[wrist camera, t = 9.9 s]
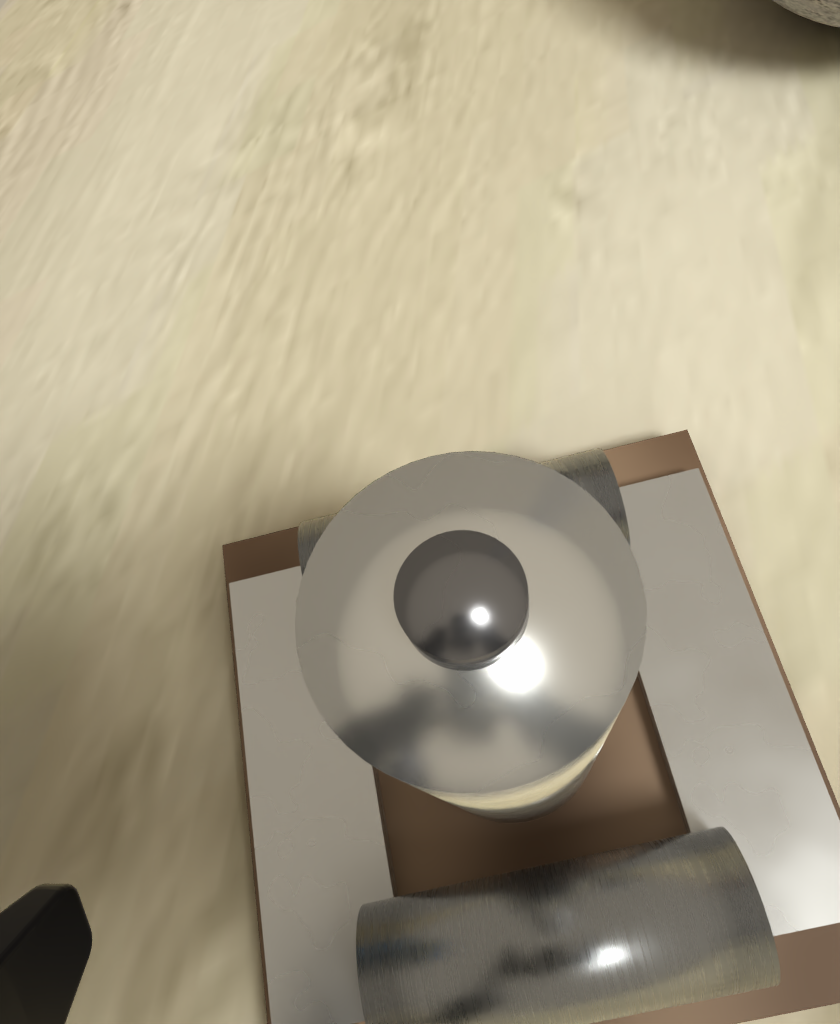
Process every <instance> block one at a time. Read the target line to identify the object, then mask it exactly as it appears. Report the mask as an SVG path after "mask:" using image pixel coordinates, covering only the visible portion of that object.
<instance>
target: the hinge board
mask: <svg viewBox="0 0 840 1024" xmlns="http://www.w3.org/2000/svg"><path fill="white" fill-rule="evenodd" d="M603 452H604V453H605V455H606V456H607V458H608V460H609V462H610V464H611V467H612V469H613V472H614V474H615V477H616V480H617V483H618V486H619V487H623V486H627V485H631V484H635V483H639V482H643V481H647V480H651V479H655V478H659V477H663V476H667V475H671V474H676V473H680V472H684V471H688V470H692V469H696V468H699V471H700V473H701V476H702V478H703V481H704V483H705V486H706V488H707V491H708V493H709V496H710V498H711V501H712V503H713V506H714V508H715V511H716V513H717V516H718V518H719V521H720V523H721V526H722V528H723V531H724V533H725V536H726V538H727V541H728V543H729V546H730V548H731V551H732V553H733V556H734V558H735V561H736V563H737V566H738V568H739V571H740V573H741V576H742V578H743V581H744V583H745V586H746V588H747V591H748V593H749V596H750V598H751V601H752V603H753V606H754V608H755V611H756V613H757V616H758V618H759V621H760V623H761V626H762V628H763V631H764V633H765V636H766V638H767V641H768V643H769V646H770V648H771V651H772V653H773V656H774V658H775V661H776V663H777V666H778V668H779V671H780V673H781V675H782V678H783V680H784V683H785V685H786V688H787V690H788V693H789V695H790V698H791V700H792V703H793V705H794V708H795V710H796V713H797V715H798V718H799V720H800V723H801V725H802V728H803V730H804V733H805V735H806V738H807V740H808V743H809V745H810V748H811V750H812V753H813V755H814V758H815V760H816V763H817V765H818V768H819V770H820V773H821V775H822V778H823V780H824V783H825V785H826V788H827V790H828V793H829V795H830V798H831V800H832V803H833V805H834V808H835V810H836V813H837V815H838V818H839V820H840V808H839V805H838V803H837V800H836V798H835V795H834V793H833V790H832V788H831V786H830V783H829V781H828V778H827V776H826V773H825V771H824V768H823V766H822V763H821V761H820V758H819V756H818V753H817V751H816V748H815V746H814V743H813V741H812V738H811V736H810V733H809V731H808V728H807V726H806V723H805V721H804V719H803V716H802V714H801V711H800V709H799V706H798V704H797V701H796V699H795V696H794V694H793V691H792V689H791V686H790V684H789V681H788V679H787V676H786V674H785V671H784V669H783V666H782V664H781V661H780V659H779V656H778V654H777V651H776V649H775V647H774V644H773V642H772V639H771V637H770V634H769V632H768V629H767V627H766V624H765V622H764V619H763V617H762V614H761V612H760V609H759V607H758V604H757V602H756V599H755V597H754V594H753V592H752V589H751V587H750V584H749V582H748V580H747V577H746V575H745V572H744V570H743V567H742V565H741V562H740V560H739V557H738V555H737V552H736V550H735V547H734V545H733V542H732V540H731V537H730V535H729V532H728V530H727V527H726V525H725V522H724V520H723V517H722V515H721V512H720V510H719V508H718V505H717V503H716V500H715V498H714V495H713V493H712V490H711V488H710V485H709V483H708V480H707V478H706V475H705V473H704V470H703V468H702V465H701V463H700V460H699V458H698V455H697V453H696V450H695V448H694V445H693V443H692V441H691V438H690V436H689V433H688V431H687V430H684V431H680V432H676V433H672V434H668V435H664V436H660V437H656V438H652V439H648V440H644V441H640V442H636V443H632V444H628V445H624V446H620V447H616V448H612V449H608V450H604V451H603ZM298 527H299V526H298ZM298 527H294V528H290V529H286V530H282V531H278V532H274V533H270V534H266V535H262V536H258V537H254V538H250V539H246V540H242V541H238V542H234V543H230V544H226V545H223V555H224V566H225V577H226V587H227V598H228V608H229V619H230V629H231V640H232V651H233V661H234V672H235V682H236V693H237V704H238V714H239V725H240V735H241V746H242V756H243V767H244V778H245V788H246V799H247V809H248V820H249V831H250V841H251V852H252V862H253V873H254V884H255V894H256V905H257V915H258V926H259V936H260V947H261V958H262V968H263V979H264V989H265V1000H266V1011H267V1021H268V1024H271V1015H270V1004H269V994H268V984H267V973H266V963H265V952H264V942H263V932H262V921H261V911H260V900H259V890H258V880H257V869H256V859H255V848H254V838H253V828H252V817H251V807H250V796H249V786H248V776H247V765H246V755H245V744H244V734H243V724H242V713H241V703H240V692H239V682H238V672H237V661H236V651H235V640H234V630H233V620H232V609H231V599H230V588H229V583H232V582H236V581H240V580H244V579H248V578H252V577H256V576H261V575H265V574H269V573H273V572H277V571H281V570H285V569H289V568H293V567H297V566H300V561H299V553H298V540H297V536H298ZM377 771H378V778H379V784H380V790H381V796H382V802H383V808H384V814H385V820H386V826H387V832H388V838H389V844H390V850H391V856H392V862H393V868H394V874H395V880H396V886H397V892H398V896H402V895H406V894H411V893H416V892H420V891H425V890H429V889H434V888H439V887H443V886H448V885H452V884H457V883H462V882H466V881H471V880H475V879H480V878H485V877H489V876H494V875H499V874H503V873H508V872H512V871H517V870H522V869H526V868H531V867H535V866H540V865H545V864H549V863H554V862H558V861H563V860H568V859H572V858H577V857H582V856H586V855H591V854H595V853H600V852H605V851H609V850H614V849H618V848H623V847H628V846H632V845H637V844H641V843H646V842H651V841H655V840H660V839H665V838H669V837H674V836H678V835H683V834H687V832H686V828H685V825H684V822H683V819H682V816H681V813H680V810H679V807H678V803H677V800H676V797H675V794H674V791H673V788H672V785H671V781H670V778H669V775H668V772H667V769H666V766H665V763H664V760H663V756H662V753H661V750H660V747H659V744H658V741H657V738H656V734H655V731H654V728H653V725H652V722H651V719H650V716H649V713H648V709H647V706H646V703H645V700H644V697H643V694H642V691H641V688H640V684H639V681H638V678H637V677H636V680H635V682H634V685H633V687H632V689H631V691H630V693H629V695H628V697H627V699H626V701H625V704H624V705H623V707H622V709H621V711H620V713H619V715H618V717H617V719H616V721H615V723H614V725H613V727H612V729H611V731H610V732H609V734H608V736H607V738H606V740H605V742H604V744H603V746H602V748H601V750H600V752H599V754H598V756H597V758H596V759H595V761H594V763H593V765H592V767H591V769H590V771H589V773H588V775H587V777H586V779H585V781H584V782H583V784H582V785H581V787H580V788H579V790H578V791H577V792H576V793H575V794H574V795H573V797H572V798H571V799H570V800H569V801H567V802H566V803H565V804H564V805H563V806H562V807H560V808H559V809H557V810H555V811H554V812H552V813H550V814H548V815H546V816H544V817H542V818H539V819H535V820H532V821H528V822H521V823H502V822H495V821H491V820H487V819H484V818H481V817H479V816H476V815H474V814H472V813H470V812H467V811H465V810H463V809H461V808H459V807H457V806H454V805H452V804H450V803H448V802H446V801H444V800H441V799H439V798H437V797H435V796H433V795H430V794H428V793H426V792H424V791H422V790H420V789H417V788H415V787H413V786H411V785H409V784H407V783H404V782H402V781H400V780H398V779H396V778H394V777H391V776H389V775H387V774H385V773H383V772H382V771H380V770H378V769H377ZM773 937H774V941H775V945H776V949H777V954H778V959H779V965H780V983H779V985H777V986H773V987H768V988H763V989H758V990H754V991H749V992H744V993H739V994H734V995H729V996H724V997H719V998H714V999H709V1000H704V1001H699V1002H695V1003H690V1004H685V1005H680V1006H675V1007H670V1008H665V1009H660V1010H655V1011H650V1012H645V1013H640V1014H636V1015H631V1016H626V1017H621V1018H616V1019H611V1020H606V1021H601V1022H596V1023H591V1024H737V1023H742V1022H747V1021H752V1020H757V1019H762V1018H767V1017H772V1016H777V1015H782V1014H786V1013H791V1012H796V1011H801V1010H806V1009H811V1008H816V1007H821V1006H826V1005H831V1004H836V1003H840V923H835V924H830V925H825V926H820V927H816V928H811V929H806V930H801V931H796V932H791V933H787V934H782V935H777V936H773ZM352 1024H365V1021H362V1022H357V1023H352Z"/></svg>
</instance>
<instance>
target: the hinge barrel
mask: <svg viewBox="0 0 840 1024" xmlns="http://www.w3.org/2000/svg"><path fill="white" fill-rule="evenodd" d="M646 623H647V609H646V601H645V592H644V586H643V582H642V579H641V575H640V571H639V567H638V564H637V562H636V560H635V557H634V555H633V552H632V550H631V548H630V545H629V544H628V542H627V540H626V538H625V537H624V535H623V533H622V532H621V530H620V528H619V526H618V525H617V524H616V523H615V521H614V520H613V519H612V517H611V516H610V515H609V514H608V512H607V511H606V510H605V509H604V508H603V507H602V506H601V505H600V504H599V503H598V502H597V501H596V500H595V499H594V498H593V497H592V496H591V495H590V494H589V493H588V492H587V491H585V490H584V489H583V488H581V487H580V486H579V485H577V484H576V483H575V482H573V481H572V480H570V479H569V478H567V477H565V476H563V475H562V474H560V473H558V472H557V471H555V470H553V469H551V468H548V467H546V466H544V465H541V464H539V463H537V462H534V461H531V460H527V459H524V458H520V457H517V456H513V455H507V454H501V453H495V452H479V451H467V452H453V453H446V454H441V455H436V456H431V457H427V458H424V459H421V460H418V461H414V462H411V463H409V464H406V465H404V466H402V467H400V468H397V469H395V470H393V471H391V472H389V473H387V474H386V475H384V476H382V477H380V478H379V479H377V480H375V481H374V482H372V483H371V484H370V485H368V486H367V487H366V488H364V489H363V490H362V491H360V492H359V493H358V494H356V495H355V496H354V497H353V498H352V499H351V500H350V501H349V502H348V503H347V504H346V505H345V506H344V507H343V508H342V509H341V510H340V511H339V512H338V514H337V515H336V516H335V517H334V518H333V520H332V521H331V522H330V523H329V524H328V526H327V527H326V529H325V530H324V532H323V534H322V535H321V537H320V538H319V540H318V541H317V543H316V545H315V547H314V549H313V551H312V553H311V556H310V558H309V560H308V562H307V565H306V568H305V571H304V574H303V577H302V580H301V583H300V588H299V593H298V598H297V603H296V616H295V635H296V648H297V653H298V658H299V663H300V669H301V671H302V674H303V677H304V680H305V683H306V686H307V689H308V691H309V693H310V695H311V697H312V699H313V701H314V703H315V705H316V707H317V709H318V711H319V712H320V714H321V715H322V717H323V718H324V720H325V721H326V722H327V724H328V725H329V727H330V728H331V730H332V731H333V732H334V733H335V734H336V735H337V736H338V737H339V738H340V739H341V740H342V742H343V743H344V744H345V745H346V746H347V747H348V748H350V749H351V750H352V751H353V752H354V753H356V754H357V755H358V756H359V757H361V758H362V759H363V760H364V761H365V762H367V763H369V764H370V765H372V766H374V767H375V768H377V769H378V770H380V771H382V772H383V773H385V774H387V775H389V776H391V777H394V778H396V779H398V780H400V781H402V782H404V783H407V784H409V785H411V786H413V787H415V788H417V789H420V790H422V791H424V792H426V793H428V794H430V795H433V796H435V797H437V798H439V799H441V800H444V801H446V802H448V803H450V804H452V805H454V806H457V807H459V808H461V809H463V810H465V811H467V812H470V813H472V814H474V815H476V816H479V817H481V818H484V819H487V820H491V821H495V822H502V823H521V822H528V821H532V820H535V819H539V818H542V817H544V816H546V815H548V814H550V813H552V812H554V811H555V810H557V809H559V808H560V807H562V806H563V805H564V804H565V803H566V802H567V801H569V800H570V799H571V798H572V797H573V795H574V794H575V793H576V792H577V791H578V790H579V788H580V787H581V785H582V784H583V782H584V781H585V779H586V777H587V775H588V773H589V771H590V769H591V767H592V765H593V763H594V761H595V759H596V758H597V756H598V754H599V752H600V750H601V748H602V746H603V744H604V742H605V740H606V738H607V736H608V734H609V732H610V731H611V729H612V727H613V725H614V723H615V721H616V719H617V717H618V715H619V713H620V711H621V709H622V707H623V705H624V704H625V701H626V699H627V697H628V695H629V693H630V691H631V689H632V687H633V685H634V682H635V680H636V677H637V674H638V671H639V667H640V664H641V661H642V658H643V652H644V645H645V639H646Z"/></svg>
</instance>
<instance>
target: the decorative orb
mask: <svg viewBox="0 0 840 1024" xmlns="http://www.w3.org/2000/svg"><path fill="white" fill-rule="evenodd" d="M773 1H774V2H776V3H777V4H779V5H780V6H782V7H784V8H786V9H788V10H789V11H791V12H793V13H795V14H797V15H799V16H802V17H805V18H807V19H810V20H812V21H815V22H819V23H822V24H826V25H829V26H834V27H840V0H773Z"/></svg>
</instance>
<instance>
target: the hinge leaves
mask: <svg viewBox="0 0 840 1024" xmlns="http://www.w3.org/2000/svg"><path fill="white" fill-rule="evenodd" d="M539 464H541V465H544V466H546V467H548V468H551V469H553V470H555V471H557V472H558V473H560V474H562V475H563V476H565V477H567V478H569V479H570V480H572V481H573V482H575V483H576V484H577V485H579V486H580V487H581V488H583V489H584V490H585V491H587V492H588V493H589V494H590V495H591V496H592V497H593V498H594V499H595V500H596V501H597V502H598V503H599V504H600V505H601V506H602V507H603V508H604V509H605V510H606V511H607V512H608V514H609V515H610V516H611V517H612V519H613V520H614V521H615V523H616V524H617V525H618V526H619V528H620V530H621V532H622V533H623V535H624V537H625V538H626V540H627V542H628V544H629V545H630V548H631V550H632V552H633V555H634V557H635V560H636V562H637V564H638V567H639V571H640V575H641V579H642V582H643V586H644V592H645V601H646V609H647V623H646V639H645V645H644V652H643V658H642V661H641V664H640V667H639V671H638V674H637V678H638V681H639V684H640V688H641V691H642V694H643V697H644V700H645V703H646V706H647V709H648V713H649V716H650V719H651V722H652V725H653V728H654V731H655V734H656V738H657V741H658V744H659V747H660V750H661V753H662V756H663V760H664V763H665V766H666V769H667V772H668V775H669V778H670V781H671V785H672V788H673V791H674V794H675V797H676V800H677V803H678V807H679V810H680V813H681V816H682V819H683V822H684V825H685V828H686V832H687V834H683V835H678V836H674V837H669V838H665V839H660V840H655V841H651V842H646V843H641V844H637V845H632V846H628V847H623V848H618V849H614V850H609V851H605V852H600V853H595V854H591V855H586V856H582V857H577V858H572V859H568V860H563V861H558V862H554V863H549V864H545V865H540V866H535V867H531V868H526V869H522V870H517V871H512V872H508V873H503V874H499V875H494V876H489V877H485V878H480V879H475V880H471V881H466V882H462V883H457V884H452V885H448V886H443V887H439V888H434V889H429V890H425V891H420V892H416V893H411V894H406V895H402V896H398V892H397V886H396V880H395V874H394V868H393V862H392V856H391V850H390V844H389V838H388V832H387V826H386V820H385V814H384V808H383V802H382V796H381V790H380V784H379V778H378V771H377V768H375V767H374V766H372V765H370V764H369V763H367V762H365V761H364V760H363V759H362V758H361V757H359V756H358V755H357V754H356V753H354V752H353V751H352V750H351V749H350V748H348V747H347V746H346V745H345V744H344V743H343V742H342V740H341V739H340V738H339V737H338V736H337V735H336V734H335V733H334V732H333V731H332V730H331V728H330V727H329V725H328V724H327V722H326V721H325V720H324V718H323V717H322V715H321V714H320V712H319V711H318V709H317V707H316V705H315V703H314V701H313V699H312V697H311V695H310V693H309V691H308V689H307V686H306V683H305V680H304V677H303V674H302V671H301V669H300V663H299V658H298V653H297V648H296V635H295V616H296V603H297V598H298V593H299V588H300V583H301V580H302V577H303V574H304V571H305V568H306V565H307V562H308V560H309V558H310V556H311V553H312V551H313V549H314V547H315V545H316V543H317V541H318V540H319V538H320V537H321V535H322V534H323V532H324V530H325V529H326V527H327V526H328V524H329V523H330V522H331V521H332V520H333V518H334V517H335V516H336V515H337V514H338V513H336V514H332V515H328V516H324V517H320V518H316V519H312V520H308V521H304V522H301V523H300V524H299V527H298V536H297V540H298V553H299V561H300V566H297V567H293V568H289V569H285V570H281V571H277V572H273V573H269V574H265V575H261V576H256V577H252V578H248V579H244V580H240V581H236V582H232V583H229V588H230V599H231V609H232V620H233V630H234V640H235V651H236V661H237V672H238V682H239V692H240V703H241V713H242V724H243V734H244V744H245V755H246V765H247V776H248V786H249V796H250V807H251V817H252V828H253V838H254V848H255V859H256V869H257V880H258V890H259V900H260V911H261V921H262V932H263V942H264V952H265V963H266V973H267V984H268V994H269V1004H270V1015H271V1024H352V1023H357V1022H362V1021H365V1024H591V1023H596V1022H601V1021H606V1020H611V1019H616V1018H621V1017H626V1016H631V1015H636V1014H640V1013H645V1012H650V1011H655V1010H660V1009H665V1008H670V1007H675V1006H680V1005H685V1004H690V1003H695V1002H699V1001H704V1000H709V999H714V998H719V997H724V996H729V995H734V994H739V993H744V992H749V991H754V990H758V989H763V988H768V987H773V986H777V985H779V983H780V965H779V959H778V954H777V949H776V945H775V941H774V937H773V936H777V935H782V934H787V933H791V932H796V931H801V930H806V929H811V928H816V927H820V926H825V925H830V924H835V923H840V820H839V818H838V815H837V813H836V810H835V808H834V805H833V803H832V800H831V798H830V795H829V793H828V790H827V788H826V785H825V783H824V780H823V778H822V775H821V773H820V770H819V768H818V765H817V763H816V760H815V758H814V755H813V753H812V750H811V748H810V745H809V743H808V740H807V738H806V735H805V733H804V730H803V728H802V725H801V723H800V720H799V718H798V715H797V713H796V710H795V708H794V705H793V703H792V700H791V698H790V695H789V693H788V690H787V688H786V685H785V683H784V680H783V678H782V675H781V673H780V671H779V668H778V666H777V663H776V661H775V658H774V656H773V653H772V651H771V648H770V646H769V643H768V641H767V638H766V636H765V633H764V631H763V628H762V626H761V623H760V621H759V618H758V616H757V613H756V611H755V608H754V606H753V603H752V601H751V598H750V596H749V593H748V591H747V588H746V586H745V583H744V581H743V578H742V576H741V573H740V571H739V568H738V566H737V563H736V561H735V558H734V556H733V553H732V551H731V548H730V546H729V543H728V541H727V538H726V536H725V533H724V531H723V528H722V526H721V523H720V521H719V518H718V516H717V513H716V511H715V508H714V506H713V503H712V501H711V498H710V496H709V493H708V491H707V488H706V486H705V483H704V481H703V478H702V476H701V473H700V471H699V468H696V469H692V470H688V471H684V472H680V473H676V474H671V475H667V476H663V477H659V478H655V479H651V480H647V481H643V482H639V483H635V484H631V485H627V486H623V487H619V486H618V483H617V480H616V477H615V474H614V472H613V469H612V467H611V464H610V462H609V460H608V458H607V456H606V455H605V453H604V452H603V450H601V449H600V448H597V449H593V450H589V451H585V452H581V453H577V454H573V455H569V456H565V457H561V458H557V459H553V460H549V461H545V462H541V463H539Z"/></svg>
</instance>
